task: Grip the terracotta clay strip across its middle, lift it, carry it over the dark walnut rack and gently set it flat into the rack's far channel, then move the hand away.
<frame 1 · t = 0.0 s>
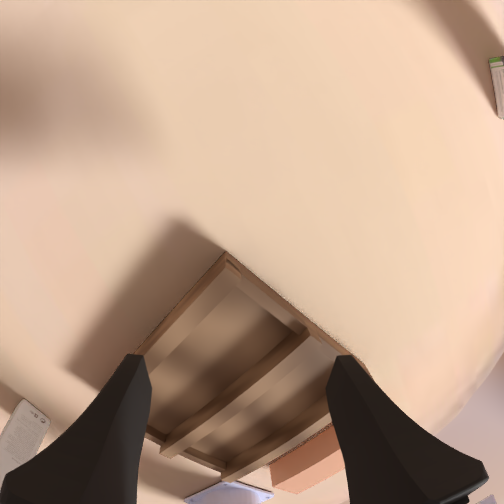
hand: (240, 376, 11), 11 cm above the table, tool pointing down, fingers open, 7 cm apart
rack: (227, 387, 24), on the table
clay strip: (328, 438, 28), on the table
skincare box: (32, 416, 25), on the table
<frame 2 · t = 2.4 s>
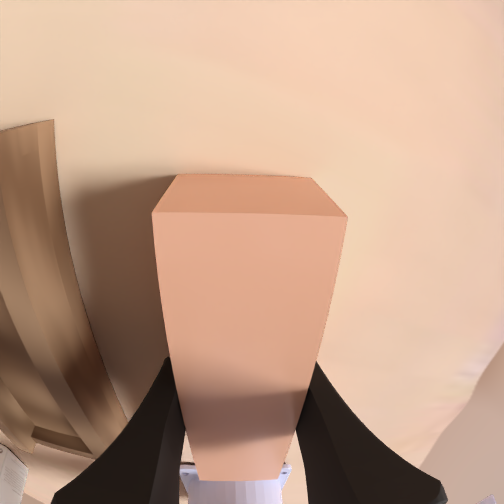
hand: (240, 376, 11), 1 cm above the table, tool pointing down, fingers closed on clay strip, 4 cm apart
clay strip: (238, 345, 12), on the table, touching gripper
skincare box: (8, 452, 20), on the table
when the fingers open (4 cm above the table, at t = 6.2 s): clay strip stays where it is, resting on rack.
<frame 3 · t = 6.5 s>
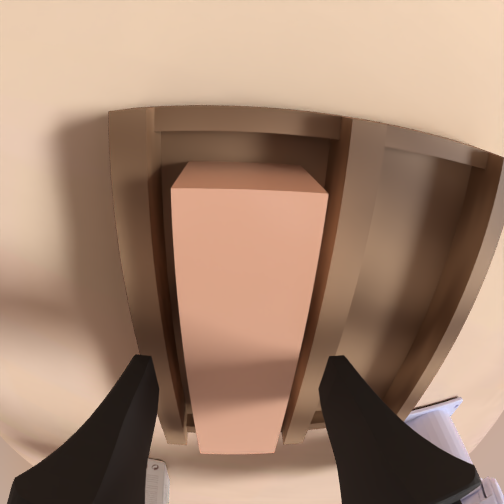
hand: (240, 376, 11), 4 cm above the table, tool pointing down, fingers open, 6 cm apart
rack: (310, 305, 15), on the table
clay strip: (238, 319, 14), point 1 cm above the table, touching rack
skincare box: (150, 466, 24), on the table
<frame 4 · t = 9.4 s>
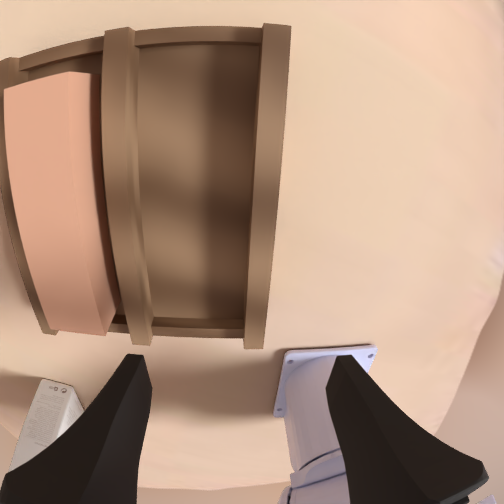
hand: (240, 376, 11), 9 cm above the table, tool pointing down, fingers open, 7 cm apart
rack: (134, 192, 17), on the table
clay strip: (74, 199, 16), point 1 cm above the table, touching rack
skincare box: (67, 397, 26), on the table
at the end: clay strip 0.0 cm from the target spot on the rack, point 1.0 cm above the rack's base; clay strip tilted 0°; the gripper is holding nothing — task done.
